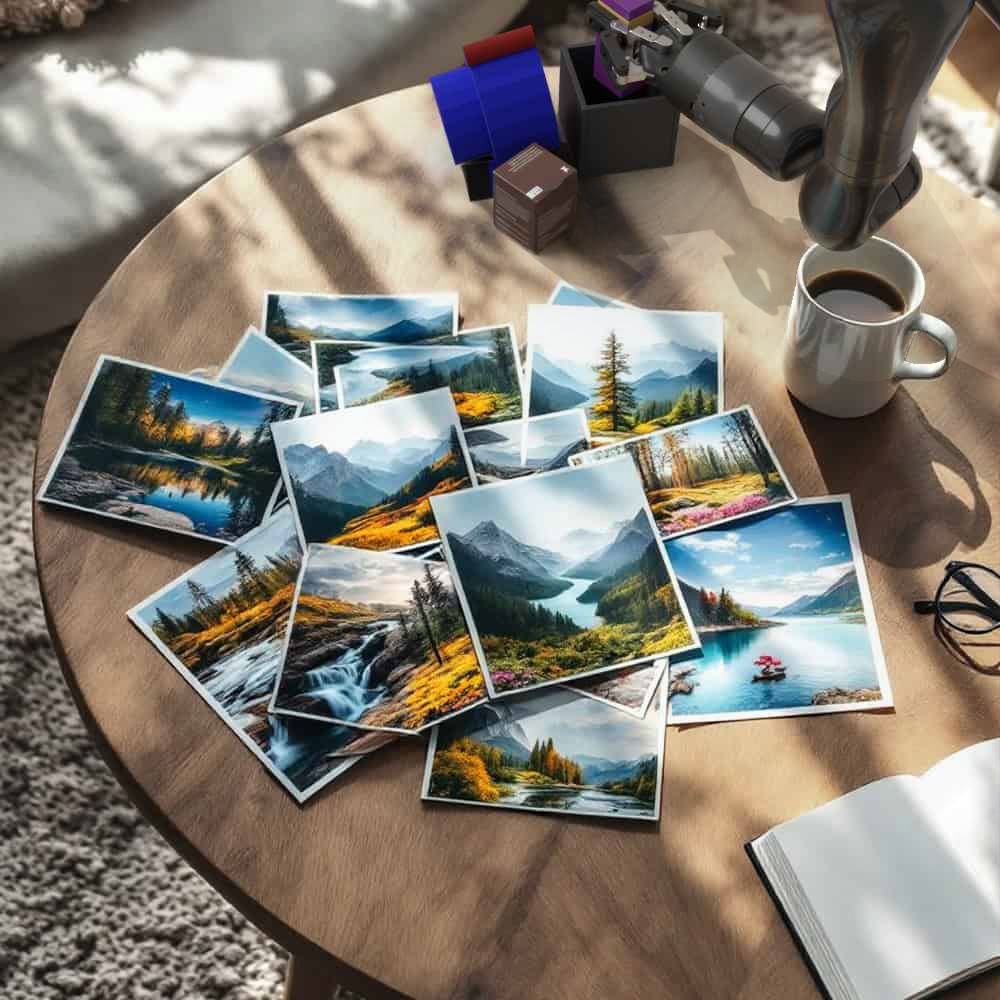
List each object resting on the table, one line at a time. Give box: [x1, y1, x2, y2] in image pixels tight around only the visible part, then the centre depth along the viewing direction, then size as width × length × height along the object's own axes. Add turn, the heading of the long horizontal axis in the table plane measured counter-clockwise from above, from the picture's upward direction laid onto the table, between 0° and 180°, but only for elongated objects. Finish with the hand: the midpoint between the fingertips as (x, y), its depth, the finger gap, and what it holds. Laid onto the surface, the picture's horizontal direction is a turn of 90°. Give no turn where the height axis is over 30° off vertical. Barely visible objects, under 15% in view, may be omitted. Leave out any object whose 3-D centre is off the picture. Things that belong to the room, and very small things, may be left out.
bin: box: [557, 40, 682, 179], centre depth 129 cm, size 10×10×9 cm
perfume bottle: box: [593, 0, 656, 99], centre depth 122 cm, size 3×4×10 cm
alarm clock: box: [429, 24, 561, 202], centre depth 125 cm, size 12×12×15 cm
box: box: [492, 142, 578, 255], centre depth 123 cm, size 6×6×7 cm
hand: (605, 3), depth 121 cm, fingers closed on perfume bottle, 3 cm apart
